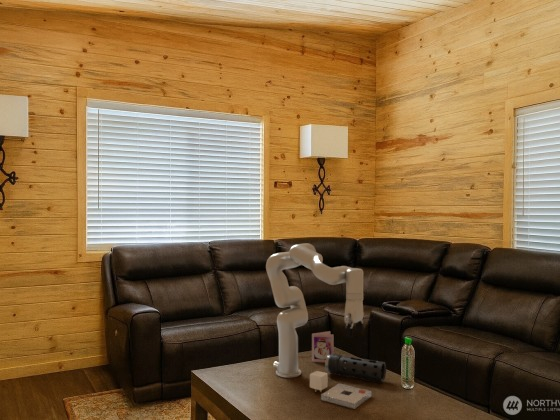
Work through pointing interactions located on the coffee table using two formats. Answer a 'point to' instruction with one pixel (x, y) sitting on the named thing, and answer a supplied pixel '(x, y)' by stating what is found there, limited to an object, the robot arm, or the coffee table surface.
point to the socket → (346, 396)
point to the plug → (318, 380)
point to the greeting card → (322, 346)
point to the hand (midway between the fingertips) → (354, 334)
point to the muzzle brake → (356, 367)
